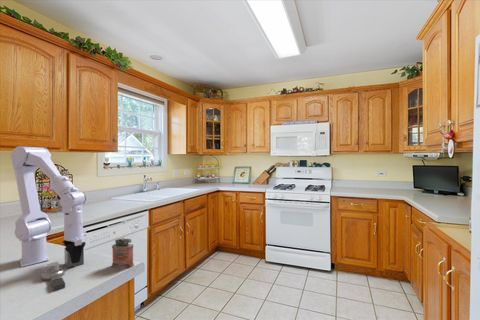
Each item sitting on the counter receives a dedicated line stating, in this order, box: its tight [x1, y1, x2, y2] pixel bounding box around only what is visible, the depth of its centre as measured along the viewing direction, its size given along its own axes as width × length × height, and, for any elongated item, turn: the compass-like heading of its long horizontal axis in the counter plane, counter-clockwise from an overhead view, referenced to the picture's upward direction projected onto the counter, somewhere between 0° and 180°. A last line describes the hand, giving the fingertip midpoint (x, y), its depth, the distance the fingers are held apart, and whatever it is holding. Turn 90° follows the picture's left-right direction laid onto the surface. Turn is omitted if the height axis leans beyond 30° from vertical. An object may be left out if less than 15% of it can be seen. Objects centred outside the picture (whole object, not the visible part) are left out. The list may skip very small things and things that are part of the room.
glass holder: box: [50, 194, 63, 213], centre depth 184 cm, size 9×14×15 cm, turn 166°
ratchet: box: [41, 261, 66, 292], centre depth 76 cm, size 15×6×4 cm, turn 45°
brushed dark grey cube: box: [63, 247, 85, 269], centre depth 89 cm, size 5×5×6 cm
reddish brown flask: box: [111, 237, 135, 269], centre depth 87 cm, size 8×3×10 cm, turn 80°
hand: (74, 260), depth 89 cm, fingers closed on brushed dark grey cube, 5 cm apart
